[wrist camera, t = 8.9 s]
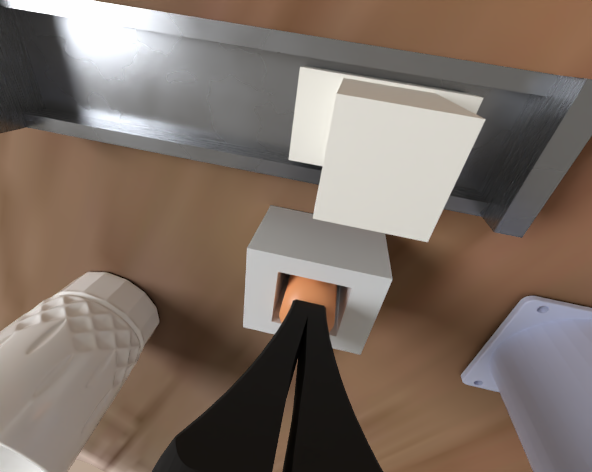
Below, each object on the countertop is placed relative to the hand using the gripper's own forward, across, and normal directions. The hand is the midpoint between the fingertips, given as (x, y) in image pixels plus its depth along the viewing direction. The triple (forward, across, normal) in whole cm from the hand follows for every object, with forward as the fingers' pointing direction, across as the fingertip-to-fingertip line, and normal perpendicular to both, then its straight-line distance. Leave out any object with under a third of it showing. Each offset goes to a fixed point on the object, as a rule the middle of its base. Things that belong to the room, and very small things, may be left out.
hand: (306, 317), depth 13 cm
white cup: (+5, +14, +9) cm, 17 cm away
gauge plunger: (+4, 0, 0) cm, 4 cm away
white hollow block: (+5, 0, 0) cm, 5 cm away
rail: (+5, +4, -8) cm, 10 cm away
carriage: (+4, -1, -8) cm, 8 cm away
